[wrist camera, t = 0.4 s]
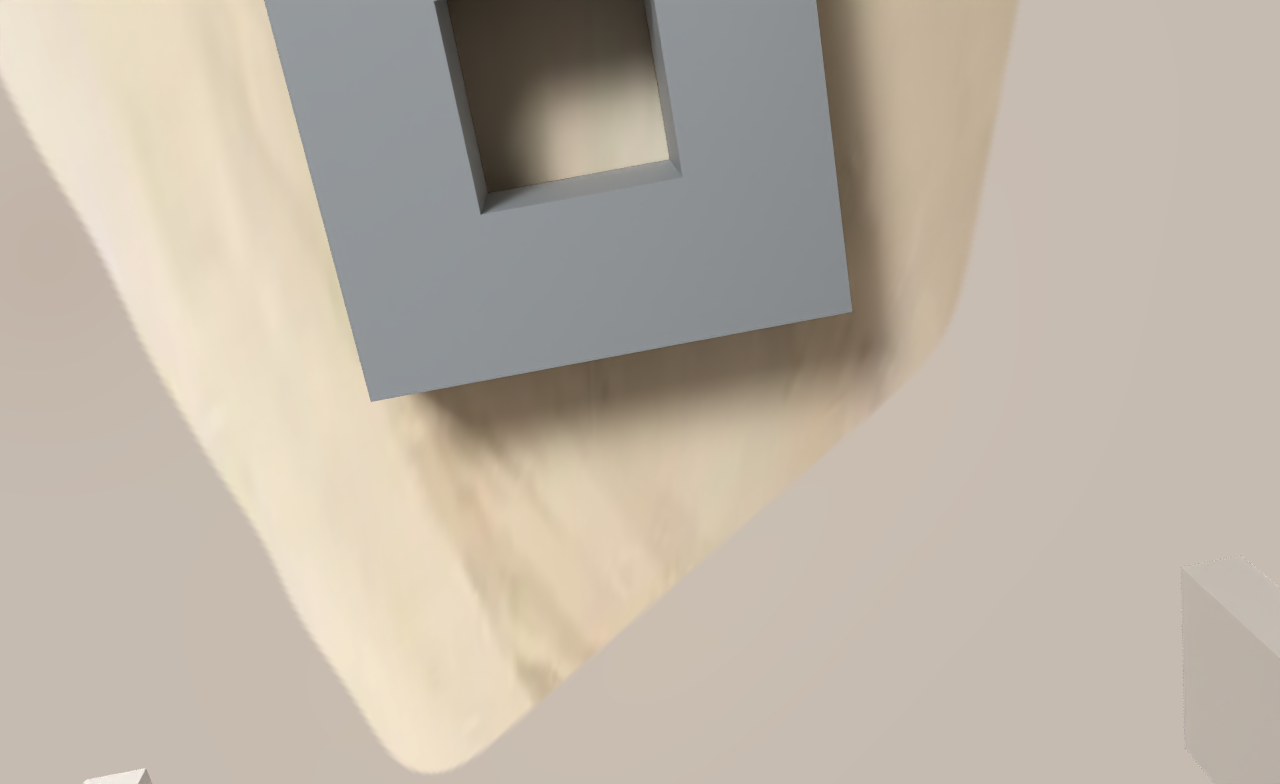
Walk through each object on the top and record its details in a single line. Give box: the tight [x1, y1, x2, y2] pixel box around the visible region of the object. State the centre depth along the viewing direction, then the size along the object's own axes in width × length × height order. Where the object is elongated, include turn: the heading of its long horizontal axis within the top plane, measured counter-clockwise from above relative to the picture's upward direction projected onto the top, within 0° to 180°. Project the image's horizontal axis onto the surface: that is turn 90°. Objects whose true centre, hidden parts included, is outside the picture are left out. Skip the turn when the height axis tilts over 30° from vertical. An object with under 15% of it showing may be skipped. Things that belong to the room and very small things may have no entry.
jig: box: [264, 0, 852, 402], centre depth 35 cm, size 16×15×4 cm
